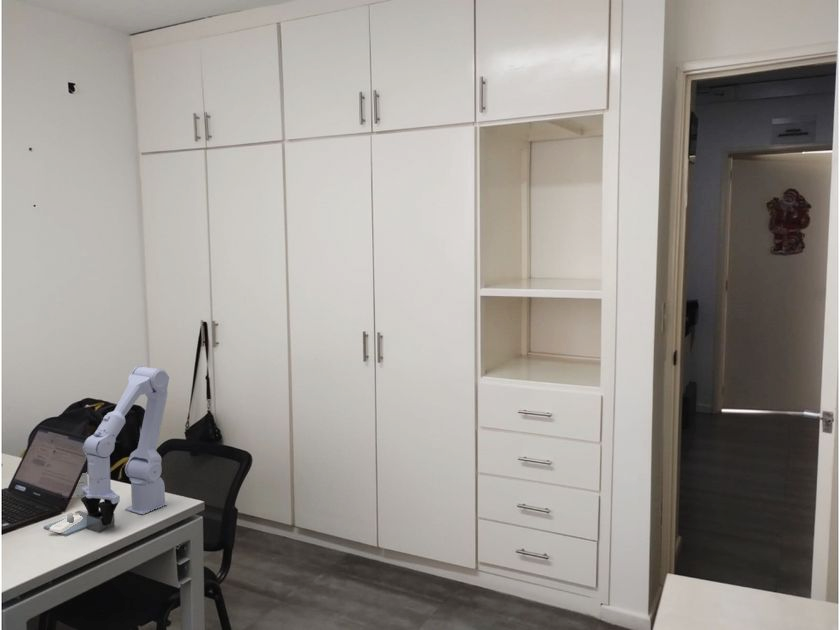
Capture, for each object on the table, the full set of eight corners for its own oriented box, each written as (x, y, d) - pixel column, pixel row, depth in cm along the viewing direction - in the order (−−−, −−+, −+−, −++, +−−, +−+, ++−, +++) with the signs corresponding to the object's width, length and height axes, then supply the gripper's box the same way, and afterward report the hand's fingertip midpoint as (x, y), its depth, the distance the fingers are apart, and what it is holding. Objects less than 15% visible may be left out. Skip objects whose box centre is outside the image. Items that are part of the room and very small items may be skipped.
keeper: (77, 516, 210) (76, 504, 210) (98, 523, 205) (98, 511, 205) (43, 528, 201) (43, 516, 200) (65, 536, 196) (65, 524, 196)
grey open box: (102, 522, 206) (102, 509, 206) (114, 526, 203) (114, 513, 203) (87, 528, 201) (86, 515, 201) (98, 532, 199) (98, 519, 198)
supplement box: (63, 491, 229) (62, 454, 227) (88, 489, 232) (87, 452, 230) (60, 500, 222) (59, 461, 221) (86, 497, 225) (85, 459, 223)
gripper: (70, 475, 201) (72, 521, 202) (103, 485, 194) (105, 532, 195) (92, 469, 207) (93, 513, 208) (125, 478, 200) (126, 523, 201)
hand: (100, 522), depth 202 cm, fingers closed on grey open box, 5 cm apart
